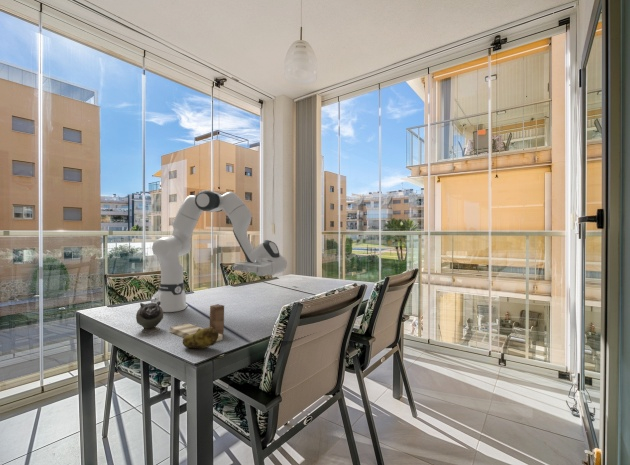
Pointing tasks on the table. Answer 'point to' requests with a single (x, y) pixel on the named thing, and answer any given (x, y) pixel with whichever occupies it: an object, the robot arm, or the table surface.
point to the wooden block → (217, 318)
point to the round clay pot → (149, 316)
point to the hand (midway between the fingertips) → (239, 269)
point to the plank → (188, 330)
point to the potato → (201, 338)
